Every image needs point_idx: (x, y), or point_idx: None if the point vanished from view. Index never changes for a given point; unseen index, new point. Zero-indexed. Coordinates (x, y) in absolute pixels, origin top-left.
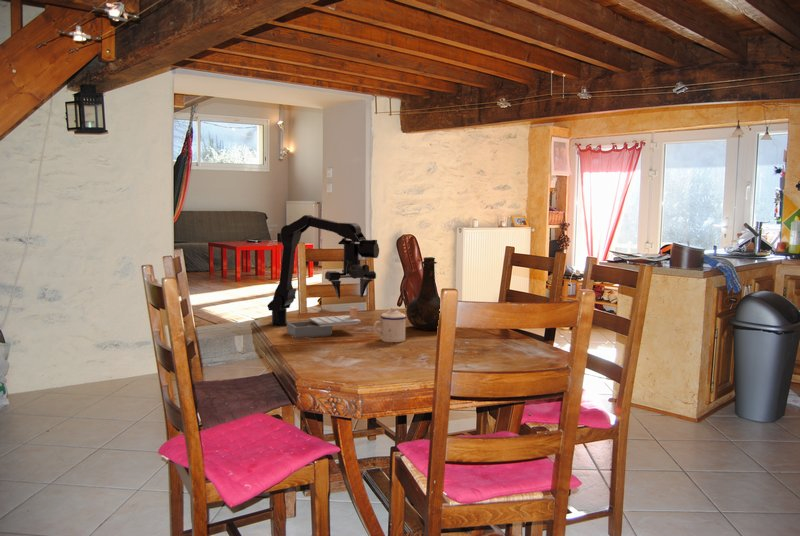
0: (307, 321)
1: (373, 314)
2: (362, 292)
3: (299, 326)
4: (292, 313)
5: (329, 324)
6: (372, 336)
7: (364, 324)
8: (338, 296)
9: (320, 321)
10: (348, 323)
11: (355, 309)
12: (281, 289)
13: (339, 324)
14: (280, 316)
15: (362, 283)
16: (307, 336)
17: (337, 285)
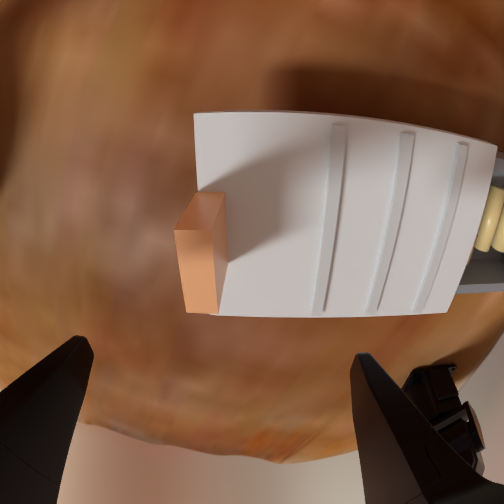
0: (461, 287)
1: (87, 399)
2: (53, 369)
3: (481, 271)
4: (301, 459)
5: (444, 131)
6: (175, 19)
7: (127, 307)
8: (380, 369)
9: (468, 202)
10: (304, 112)
11: (194, 225)
12: (478, 472)
13: (375, 118)
14: (452, 389)
15: (20, 467)
16: (498, 151)
17: (461, 482)
